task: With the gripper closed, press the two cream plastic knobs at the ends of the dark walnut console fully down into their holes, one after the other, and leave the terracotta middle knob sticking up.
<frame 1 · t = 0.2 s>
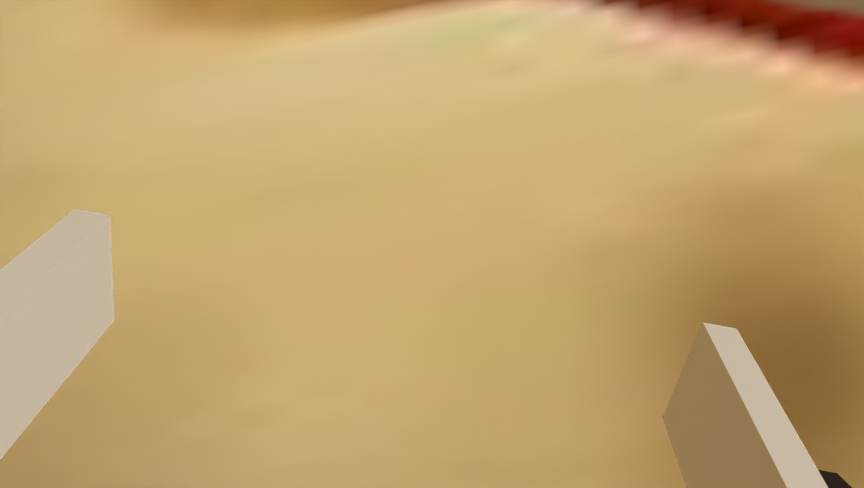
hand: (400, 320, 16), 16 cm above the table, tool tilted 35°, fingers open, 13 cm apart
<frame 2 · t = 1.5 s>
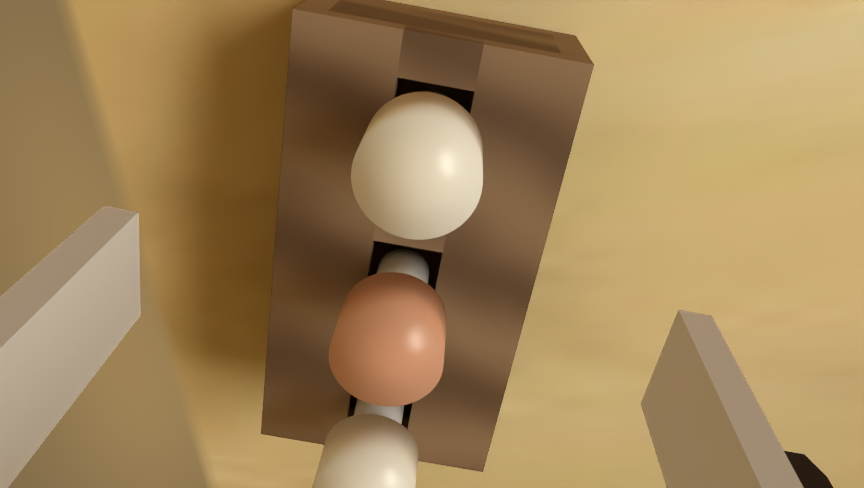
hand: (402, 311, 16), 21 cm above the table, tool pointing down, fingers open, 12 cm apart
knob middle: (395, 311, 30), point 9 cm above the table, slide at 0.0 cm
knob console: (413, 221, 38), on the table
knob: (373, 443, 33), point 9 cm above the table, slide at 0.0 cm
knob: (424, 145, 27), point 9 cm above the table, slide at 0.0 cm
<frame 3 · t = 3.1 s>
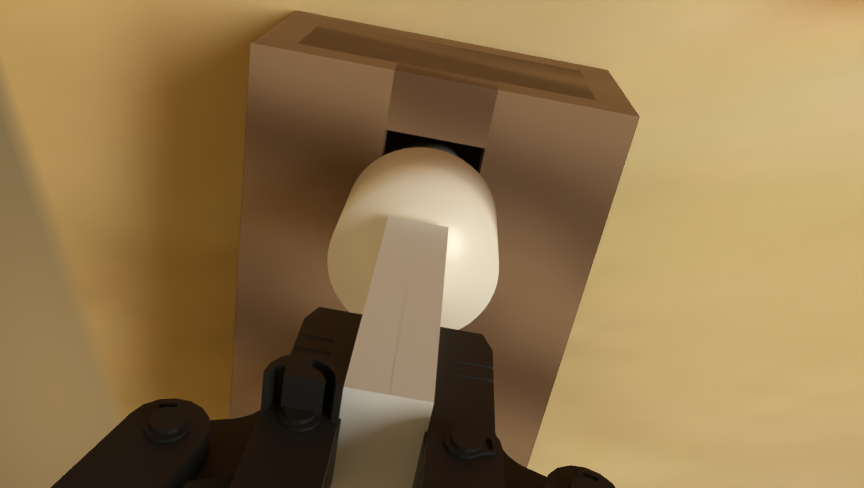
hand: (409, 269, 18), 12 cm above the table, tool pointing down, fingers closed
knob console: (407, 286, 32), on the table
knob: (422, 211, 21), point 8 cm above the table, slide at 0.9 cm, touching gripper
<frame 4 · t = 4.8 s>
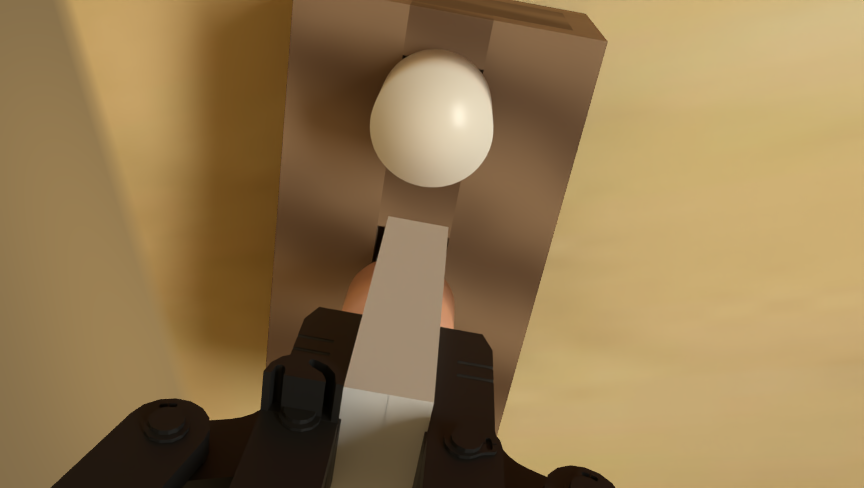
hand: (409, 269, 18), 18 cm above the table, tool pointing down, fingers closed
knob middle: (401, 298, 29), point 9 cm above the table, slide at 0.0 cm
knob console: (417, 207, 37), on the table
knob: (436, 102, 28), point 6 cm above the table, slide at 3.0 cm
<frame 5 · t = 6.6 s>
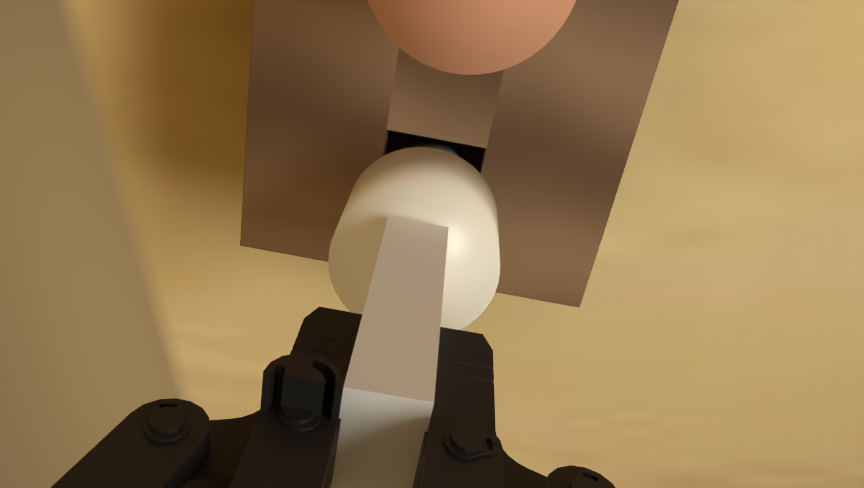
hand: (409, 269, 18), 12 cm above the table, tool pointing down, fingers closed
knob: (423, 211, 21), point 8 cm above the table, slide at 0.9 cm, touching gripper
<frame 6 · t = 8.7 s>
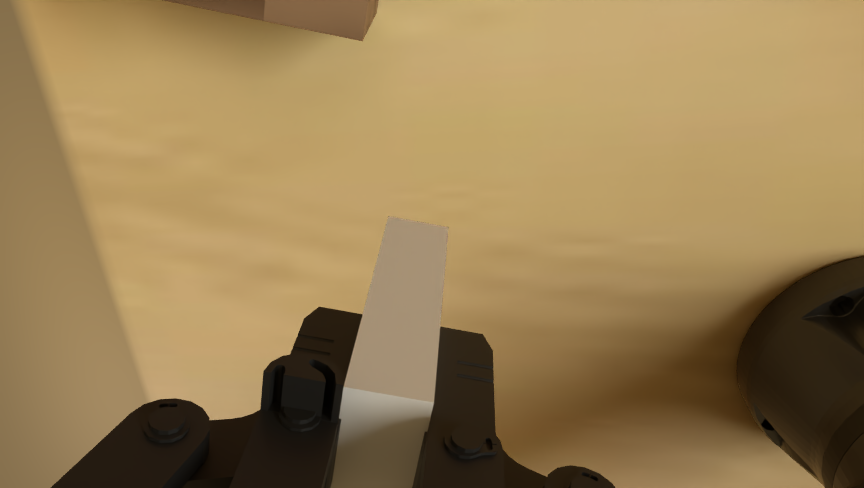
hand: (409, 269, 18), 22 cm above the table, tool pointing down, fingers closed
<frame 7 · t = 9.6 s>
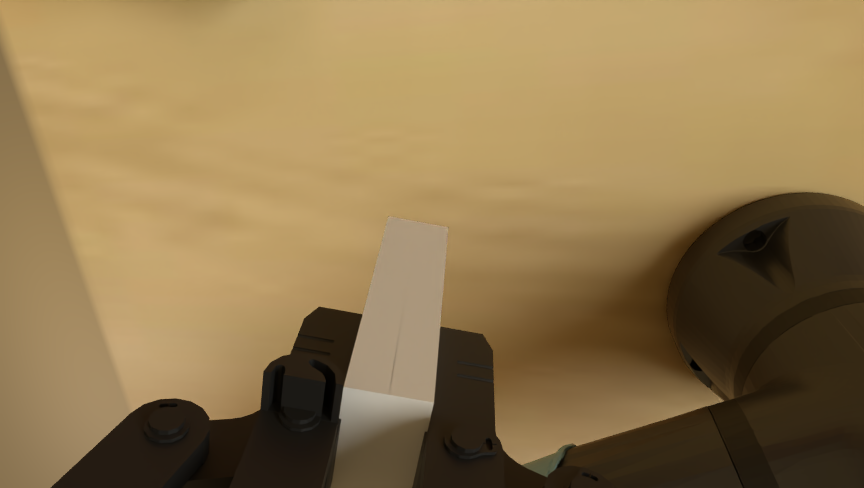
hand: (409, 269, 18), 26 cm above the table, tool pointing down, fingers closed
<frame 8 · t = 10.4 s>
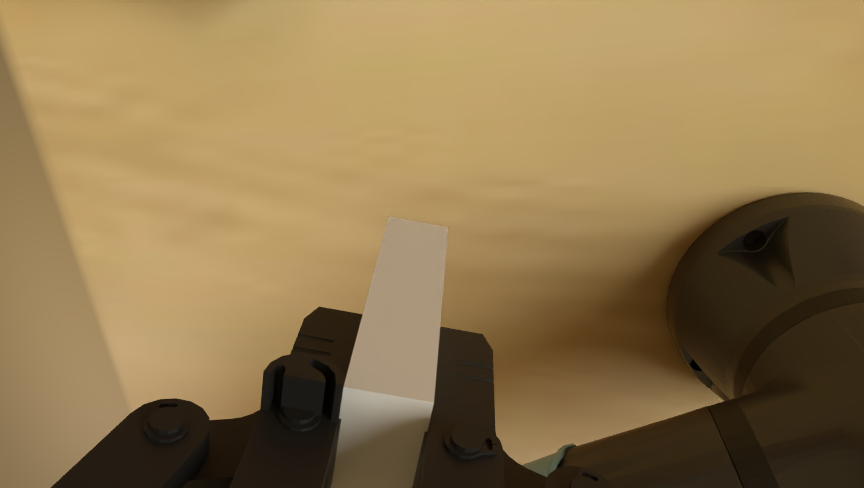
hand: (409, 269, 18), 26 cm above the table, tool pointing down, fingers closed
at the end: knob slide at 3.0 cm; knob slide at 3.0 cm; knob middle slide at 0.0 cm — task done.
